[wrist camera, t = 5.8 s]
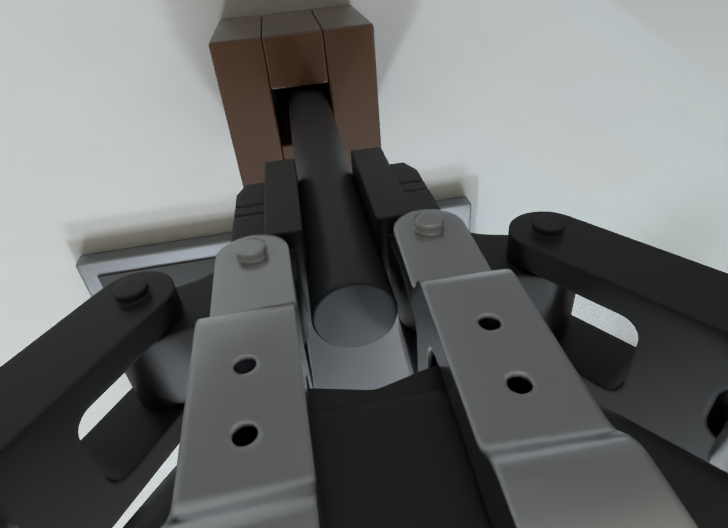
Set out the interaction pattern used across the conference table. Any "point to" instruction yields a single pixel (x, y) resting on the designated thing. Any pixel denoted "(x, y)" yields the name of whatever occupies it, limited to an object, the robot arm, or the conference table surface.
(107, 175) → the conference table surface
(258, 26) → the pen holder
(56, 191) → the conference table surface
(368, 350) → the tablet
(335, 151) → the dark gray rod
